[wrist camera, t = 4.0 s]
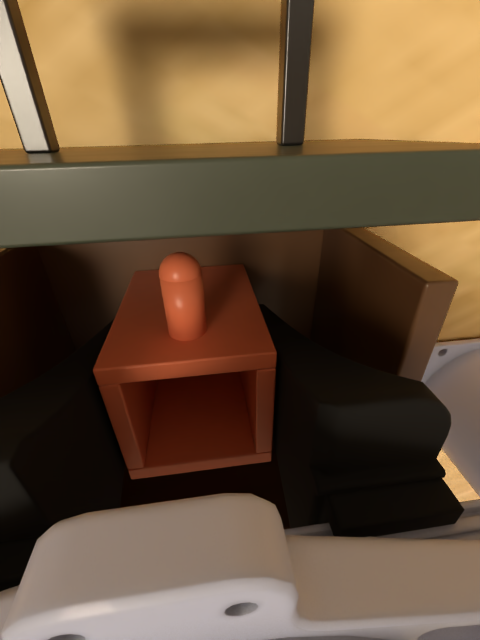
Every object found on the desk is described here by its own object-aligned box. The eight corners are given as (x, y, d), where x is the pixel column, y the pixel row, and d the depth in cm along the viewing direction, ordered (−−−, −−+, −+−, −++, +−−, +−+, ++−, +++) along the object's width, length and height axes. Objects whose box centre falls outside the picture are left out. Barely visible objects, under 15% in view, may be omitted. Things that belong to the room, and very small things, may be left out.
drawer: (-112, -44, 8) (-1275, -718, 2) (387, -30, 9) (796, -371, 3) (86, 427, 17) (25, 594, 11) (319, 400, 18) (383, 536, 12)
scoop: (244, 349, 14) (271, 462, 9) (152, 357, 14) (130, 480, 9) (242, 207, 11) (282, 267, 6) (121, 213, 11) (60, 283, 6)
